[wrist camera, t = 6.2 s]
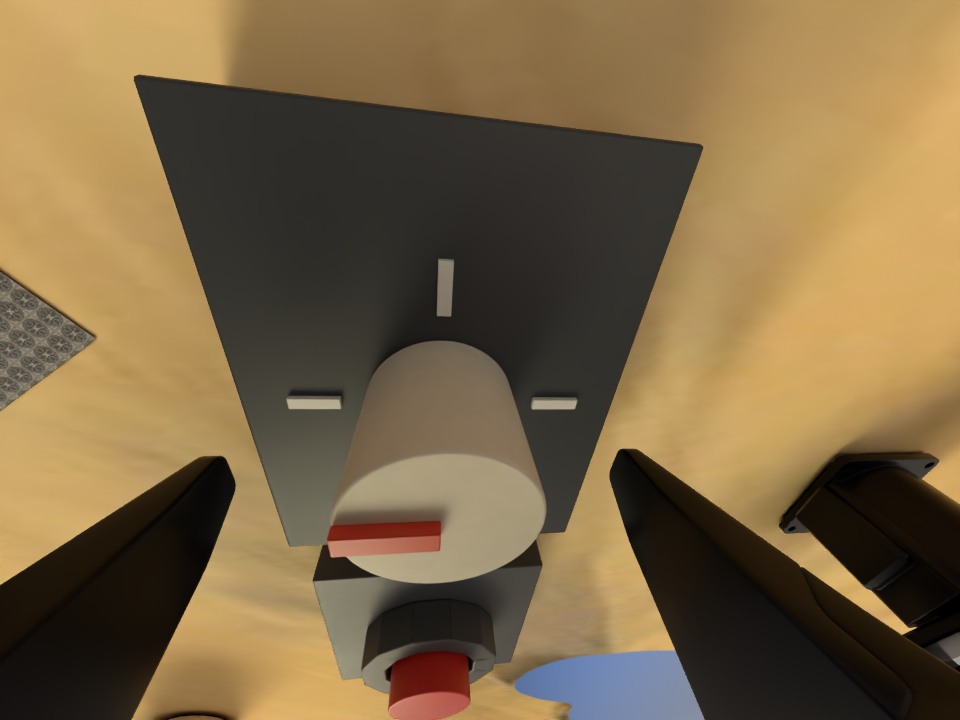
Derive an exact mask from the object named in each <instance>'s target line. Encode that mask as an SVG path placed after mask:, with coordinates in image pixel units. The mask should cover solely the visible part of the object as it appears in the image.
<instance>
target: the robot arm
mask: <svg viewBox="0 0 960 720" xmlns="http://www.w3.org/2000/svg"><path fill="white" fill-rule="evenodd" d="M938 463H939V459H937V458H936V457H934V456H932V455H931V454H928V453H926V454H881V455H845V456H841V457H839V458H837V459H836V460H835V461H834V462H833V463H832V464H831V465H830V466H829V467H828V468H827V470H826V471H825V472H824V473H823V474H822V475H821V476H820V478H819V479H818V480H817V481H816V482H815V483H814V484H813V486H812V487H811V488H810V489H809V490H808V491H807V492H806V494H805V495H804V496H803V497H802V498H801V499H800V500H799V502H798V503H797V504H796V505H795V506H794V507H793V509H792V510H791V511H790V512H789V513H788V514H787V515H786V517H785V518H784V519H783V520H782V521H781V522H780V523H779V527H780V529H781V530H782V531H783V532H784V533H787V534H789V533H806V532H810V533H811V534H812V535H813V536H814V537H815V538H816V539H817V540H818V541H819V542H820V543H821V544H822V545H823V546H824V547H825V548H826V549H827V550H828V551H829V552H830V553H831V554H832V555H833V556H834V557H835V558H836V559H837V560H838V561H839V562H840V563H841V564H842V565H843V566H844V567H845V568H846V569H847V570H848V571H849V572H850V573H851V574H852V575H853V576H854V577H855V578H856V579H857V580H858V581H859V582H860V583H861V584H862V585H863V586H864V587H865V588H866V589H869V590H871V591H872V592H873V593H874V594H875V595H876V596H877V597H878V598H879V599H880V600H881V601H882V602H883V603H884V604H885V605H886V606H887V607H888V608H889V609H890V610H891V611H892V612H893V613H894V614H895V615H896V616H897V617H898V618H899V619H900V620H901V621H902V622H903V623H904V624H905V625H906V626H907V627H908V628H912V627H917V628H916V629H914V630H911V631H909V632H907V633H905V634H903V635H901V634H900V633H898V632H896V631H895V630H893V629H892V628H890V627H889V626H887V625H886V624H884V623H883V622H881V621H880V620H878V619H877V618H875V617H874V616H872V615H871V614H869V613H868V612H866V611H865V610H863V609H862V608H860V607H859V606H857V605H856V604H855V603H853V602H852V601H850V600H849V599H847V598H846V597H844V596H843V595H842V594H840V593H839V592H837V591H836V590H834V589H833V588H832V587H830V586H829V585H827V584H826V583H824V582H823V581H822V580H820V579H819V578H817V577H816V576H815V575H813V574H812V573H810V572H809V571H808V570H806V569H805V568H803V567H800V566H799V564H798V563H796V562H795V561H793V560H792V559H791V558H789V557H788V556H786V555H785V554H784V553H782V552H781V551H779V550H778V549H777V548H775V547H774V546H772V545H771V544H770V543H768V542H767V541H765V540H764V539H763V538H761V537H760V536H758V535H757V534H756V533H754V532H753V531H751V530H750V529H749V528H747V527H746V526H744V525H743V524H742V523H740V522H739V521H737V520H736V519H735V518H733V517H732V516H730V515H729V514H727V513H726V512H725V511H723V510H722V509H720V508H719V507H718V506H716V505H715V504H713V503H712V502H711V501H709V500H708V499H706V498H705V497H704V496H702V495H701V494H699V493H698V492H697V491H695V490H694V489H692V488H691V487H690V486H688V485H687V484H685V483H684V482H683V481H681V480H680V479H678V478H677V477H676V476H674V475H673V474H671V473H670V472H669V471H667V470H666V469H664V468H663V467H662V466H660V465H659V464H657V463H656V462H655V461H653V460H652V459H650V458H649V457H648V456H646V455H645V454H643V453H642V452H641V451H639V450H637V449H620V450H619V451H618V453H617V455H616V457H615V460H614V462H613V465H612V467H611V470H610V482H611V485H612V488H613V492H614V495H615V498H616V501H617V504H618V507H619V511H620V514H621V517H622V520H623V523H624V527H625V530H626V533H627V536H628V539H629V541H630V544H631V546H632V549H633V551H634V554H635V556H636V558H637V561H638V563H639V565H640V568H641V570H642V573H643V575H644V577H645V580H646V582H647V584H648V587H649V589H650V591H651V594H652V596H653V598H654V601H655V603H656V606H657V608H658V610H659V613H660V615H661V617H662V620H663V622H664V624H665V627H666V629H667V631H668V634H669V636H670V639H671V641H672V643H673V646H674V648H675V650H676V653H677V655H678V657H679V659H680V662H681V664H682V667H683V669H684V672H685V674H686V676H687V679H688V681H689V683H690V685H691V688H692V690H693V693H694V695H695V697H696V700H697V702H698V704H699V707H700V709H701V712H702V714H703V716H704V719H705V720H960V665H958V664H957V663H956V662H954V661H953V660H952V659H954V658H956V657H958V656H960V504H958V503H957V502H955V501H954V500H952V499H951V498H949V497H948V496H946V495H945V494H943V493H942V492H940V491H939V490H937V489H936V488H934V487H933V486H931V485H930V484H928V483H927V482H925V481H924V480H922V478H923V477H924V476H925V475H926V474H927V473H928V472H929V471H930V470H931V469H933V468H934V467H935V466H936V465H937V464H938ZM235 487H236V484H235V480H234V477H233V475H232V472H231V470H230V467H229V465H228V462H227V460H226V459H225V458H224V457H223V456H203V457H200V458H198V459H196V460H194V461H193V462H191V463H189V464H188V465H186V466H185V467H183V468H182V469H180V470H179V471H177V472H175V473H174V474H172V475H171V476H169V477H168V478H166V479H165V480H163V481H161V482H160V483H158V484H157V485H155V486H154V487H152V488H151V489H149V490H147V491H146V492H144V493H143V494H141V495H140V496H138V497H137V498H135V499H133V500H132V501H130V502H129V503H127V504H126V505H124V506H123V507H121V508H119V509H118V510H116V511H115V512H113V513H112V514H110V515H109V516H107V517H105V518H104V519H102V520H101V521H99V522H98V523H96V524H95V525H93V526H91V527H90V528H88V529H87V530H85V531H84V532H82V533H81V534H79V535H77V536H76V537H74V538H73V539H71V540H70V541H68V542H67V543H65V544H63V545H62V546H60V547H59V548H57V549H56V550H54V551H53V552H51V553H49V554H48V555H46V556H45V557H43V558H42V559H40V560H39V561H37V562H35V563H34V564H32V565H31V566H29V567H28V568H26V569H25V570H23V571H21V572H20V573H18V574H17V575H15V576H14V577H12V578H11V579H9V580H7V581H6V582H4V583H3V584H1V585H0V720H132V718H133V716H134V714H135V712H136V710H137V707H138V705H139V703H140V701H141V699H142V697H143V695H144V693H145V691H146V689H147V687H148V685H149V683H150V681H151V679H152V677H153V675H154V673H155V671H156V669H157V667H158V665H159V663H160V661H161V659H162V657H163V655H164V653H165V651H166V649H167V646H168V644H169V642H170V640H171V638H172V636H173V634H174V632H175V630H176V628H177V626H178V624H179V622H180V620H181V618H182V616H183V614H184V612H185V610H186V608H187V606H188V604H189V602H190V600H191V598H192V596H193V594H194V592H195V590H196V588H197V585H198V583H199V581H200V579H201V577H202V575H203V573H204V571H205V569H206V567H207V564H208V562H209V559H210V557H211V554H212V552H213V549H214V546H215V544H216V541H217V538H218V536H219V533H220V530H221V528H222V525H223V522H224V520H225V517H226V514H227V511H228V509H229V506H230V503H231V501H232V498H233V495H234V492H235Z"/></svg>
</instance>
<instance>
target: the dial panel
mask: <svg viewBox="0 0 960 720" xmlns="http://www.w3.org/2000/svg"><path fill="white" fill-rule="evenodd" d="M134 82H135V85H136V88H137V91H138V94H139V97H140V100H141V103H142V106H143V109H144V112H145V115H146V118H147V121H148V124H149V127H150V130H151V133H152V136H153V139H154V142H155V145H156V148H157V151H158V154H159V157H160V160H161V163H162V166H163V169H164V172H165V175H166V178H167V181H168V184H169V187H170V190H171V193H172V196H173V199H174V202H175V205H176V208H177V211H178V214H179V217H180V220H181V223H182V226H183V229H184V232H185V235H186V238H187V241H188V244H189V247H190V250H191V253H192V256H193V259H194V262H195V265H196V268H197V271H198V274H199V277H200V280H201V283H202V286H203V289H204V292H205V295H206V298H207V301H208V304H209V307H210V310H211V313H212V316H213V319H214V322H215V325H216V328H217V331H218V334H219V337H220V340H221V343H222V346H223V349H224V352H225V355H226V358H227V361H228V364H229V367H230V370H231V373H232V376H233V379H234V382H235V385H236V388H237V391H238V394H239V397H240V400H241V403H242V406H243V409H244V412H245V415H246V418H247V421H248V424H249V427H250V430H251V433H252V436H253V439H254V442H255V445H256V448H257V451H258V454H259V457H260V460H261V463H262V466H263V469H264V472H265V475H266V478H267V481H268V484H269V487H270V490H271V493H272V496H273V499H274V502H275V505H276V508H277V511H278V514H279V517H280V520H281V523H282V526H283V529H284V532H285V535H286V538H287V541H288V544H289V546H291V547H293V546H312V545H328V544H327V537H328V533H329V530H330V527H331V523H330V519H331V511H332V508H333V504H334V501H335V498H336V494H337V491H338V487H339V484H340V480H341V477H342V474H343V470H344V467H345V463H346V460H347V457H348V453H349V450H350V446H351V443H352V440H353V436H354V433H355V429H356V426H357V423H358V419H359V416H360V412H361V409H362V406H363V402H364V399H365V395H366V392H367V389H368V386H369V383H370V380H371V378H372V376H373V374H374V373H375V371H376V370H377V369H378V367H379V366H380V365H381V364H382V363H383V362H384V361H385V360H386V359H388V358H389V357H390V356H392V355H393V354H395V353H396V352H398V351H400V350H402V349H404V348H406V347H409V346H411V345H414V344H418V343H422V342H428V341H453V342H458V343H463V344H466V345H469V346H472V347H474V348H476V349H478V350H480V351H482V352H484V353H485V354H487V355H488V356H490V357H491V358H492V359H493V360H494V361H495V362H496V363H497V364H498V365H499V366H500V367H501V369H502V370H503V372H504V374H505V375H506V377H507V380H508V382H509V385H510V388H511V392H512V395H513V398H514V401H515V404H516V407H517V410H518V413H519V417H520V420H521V423H522V426H523V429H524V432H525V435H526V438H527V442H528V445H529V448H530V451H531V454H532V457H533V460H534V463H535V467H536V470H537V473H538V476H539V479H540V482H541V485H542V488H543V492H544V495H545V499H546V517H545V522H544V525H543V527H542V530H541V532H540V533H559V532H565V530H566V527H567V525H568V522H569V519H570V516H571V514H572V511H573V508H574V505H575V503H576V500H577V497H578V494H579V491H580V489H581V486H582V483H583V480H584V478H585V475H586V472H587V469H588V466H589V464H590V461H591V458H592V455H593V453H594V450H595V447H596V444H597V441H598V439H599V436H600V433H601V430H602V428H603V425H604V422H605V419H606V416H607V414H608V411H609V408H610V405H611V403H612V400H613V397H614V394H615V392H616V389H617V386H618V383H619V380H620V378H621V375H622V372H623V369H624V367H625V364H626V361H627V358H628V355H629V353H630V350H631V347H632V344H633V342H634V339H635V336H636V333H637V330H638V328H639V325H640V322H641V319H642V317H643V314H644V311H645V308H646V306H647V303H648V300H649V297H650V294H651V292H652V289H653V286H654V283H655V281H656V278H657V275H658V272H659V269H660V267H661V264H662V261H663V258H664V256H665V253H666V250H667V247H668V244H669V242H670V239H671V236H672V233H673V231H674V228H675V225H676V222H677V219H678V217H679V214H680V211H681V208H682V206H683V203H684V200H685V197H686V195H687V192H688V189H689V186H690V183H691V181H692V178H693V175H694V172H695V170H696V167H697V164H698V161H699V158H700V156H701V153H702V150H703V146H702V145H700V144H695V143H687V142H679V141H671V140H663V139H655V138H647V137H639V136H630V135H622V134H614V133H606V132H598V131H590V130H582V129H574V128H566V127H558V126H550V125H542V124H534V123H525V122H517V121H509V120H501V119H493V118H485V117H477V116H469V115H461V114H453V113H445V112H437V111H429V110H420V109H412V108H404V107H396V106H388V105H380V104H372V103H364V102H356V101H348V100H340V99H332V98H324V97H315V96H307V95H299V94H291V93H283V92H275V91H267V90H259V89H251V88H243V87H235V86H227V85H219V84H210V83H202V82H194V81H186V80H178V79H170V78H162V77H154V76H146V75H137V76H134ZM540 533H539V534H540Z"/></svg>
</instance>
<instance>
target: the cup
mask: <svg viewBox="0 0 960 720" xmlns="http://www.w3.org/2000/svg"><path fill="white" fill-rule="evenodd" d="M168 720H223V719H220V718H217V717H211V716H183V717H176V718H172V719H168Z"/></svg>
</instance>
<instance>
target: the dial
mask: <svg viewBox="0 0 960 720" xmlns="http://www.w3.org/2000/svg"><path fill="white" fill-rule="evenodd" d="M545 517H546V499H545V495H544V492H543V488H542V485H541V482H540V479H539V476H538V473H537V470H536V467H535V463H534V460H533V457H532V454H531V451H530V448H529V445H528V442H527V438H526V435H525V432H524V429H523V426H522V423H521V420H520V417H519V413H518V410H517V407H516V404H515V401H514V398H513V395H512V392H511V388H510V385H509V382H508V380H507V377H506V375H505V374H504V372H503V370H502V369H501V367H500V366H499V365H498V364H497V363H496V362H495V361H494V360H493V359H492V358H491V357H490V356H488V355H487V354H485V353H484V352H482V351H480V350H478V349H476V348H474V347H472V346H469V345H466V344H463V343H458V342H453V341H428V342H422V343H418V344H414V345H411V346H409V347H406V348H404V349H402V350H400V351H398V352H396V353H395V354H393V355H392V356H390V357H389V358H388V359H386V360H385V361H384V362H383V363H382V364H381V365H380V366H379V367H378V369H377V370H376V371H375V373H374V374H373V376H372V378H371V380H370V383H369V386H368V389H367V392H366V395H365V399H364V402H363V406H362V409H361V412H360V416H359V419H358V423H357V426H356V429H355V433H354V436H353V440H352V443H351V446H350V450H349V453H348V457H347V460H346V463H345V467H344V470H343V474H342V477H341V480H340V484H339V487H338V491H337V494H336V498H335V501H334V504H333V508H332V511H331V519H330V523H331V527H330V530H329V533H328V537H327V544H328V548H329V552H330V557H347V558H348V559H349V560H350V561H351V562H352V563H354V564H356V565H357V566H359V567H360V568H362V569H364V570H366V571H368V572H370V573H372V574H375V575H378V576H380V577H384V578H388V579H391V580H396V581H402V582H410V583H444V582H453V581H459V580H464V579H468V578H472V577H476V576H479V575H482V574H485V573H488V572H490V571H493V570H495V569H497V568H499V567H501V566H503V565H505V564H507V563H509V562H510V561H512V560H514V559H515V558H516V557H518V556H519V555H520V554H522V553H523V552H524V551H525V550H526V549H527V548H528V547H529V546H530V545H531V544H532V543H533V542H534V541H535V539H536V538H537V536H538V535H539V533H540V532H541V530H542V527H543V525H544V522H545Z"/></svg>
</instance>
